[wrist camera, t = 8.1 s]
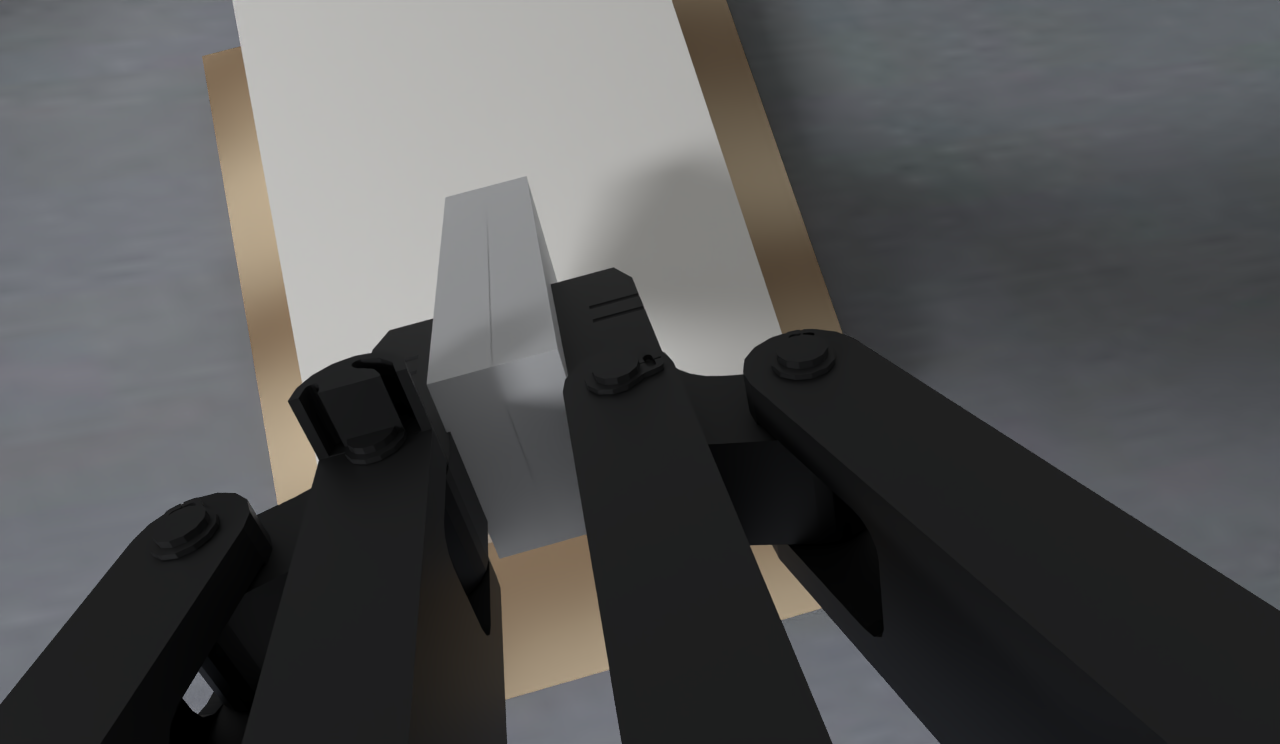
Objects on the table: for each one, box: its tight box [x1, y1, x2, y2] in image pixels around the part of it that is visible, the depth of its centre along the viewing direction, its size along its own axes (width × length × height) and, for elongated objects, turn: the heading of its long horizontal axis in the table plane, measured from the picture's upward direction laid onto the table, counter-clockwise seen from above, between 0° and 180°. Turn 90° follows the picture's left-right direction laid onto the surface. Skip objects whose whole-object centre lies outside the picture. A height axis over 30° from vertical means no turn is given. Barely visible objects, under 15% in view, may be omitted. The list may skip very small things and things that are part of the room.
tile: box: [233, 0, 782, 544], centre depth 19 cm, size 3×10×14 cm
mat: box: [202, 0, 843, 700], centre depth 21 cm, size 18×14×1 cm
